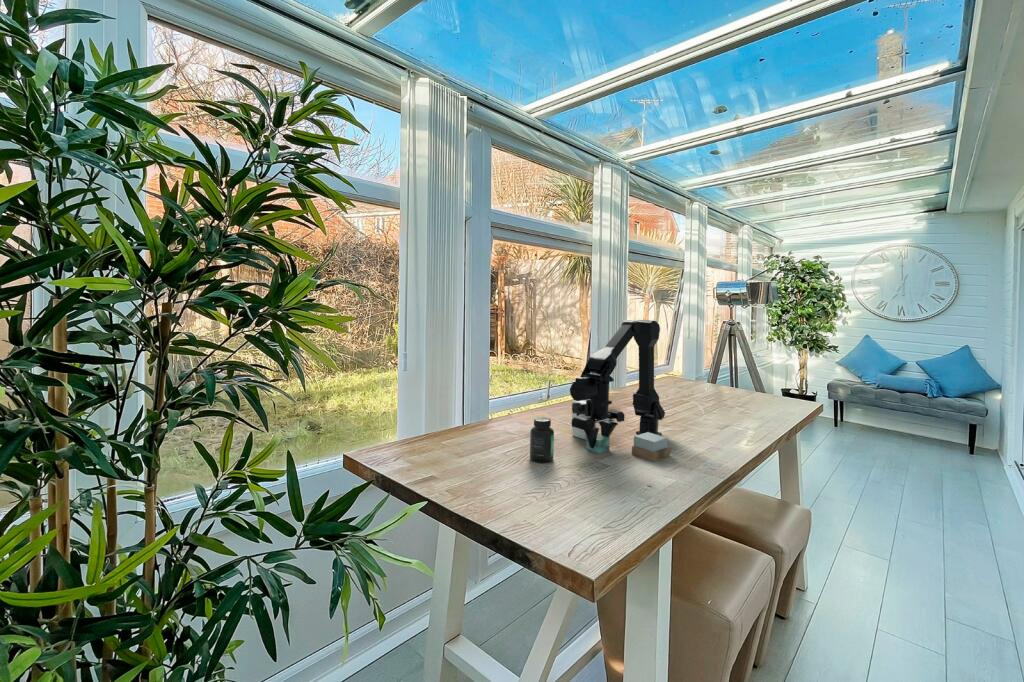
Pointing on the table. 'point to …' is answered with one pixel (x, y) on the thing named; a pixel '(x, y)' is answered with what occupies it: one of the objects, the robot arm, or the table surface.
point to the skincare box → (577, 431)
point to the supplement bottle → (542, 441)
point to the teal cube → (599, 444)
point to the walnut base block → (651, 453)
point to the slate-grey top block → (650, 441)
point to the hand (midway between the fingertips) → (597, 446)
